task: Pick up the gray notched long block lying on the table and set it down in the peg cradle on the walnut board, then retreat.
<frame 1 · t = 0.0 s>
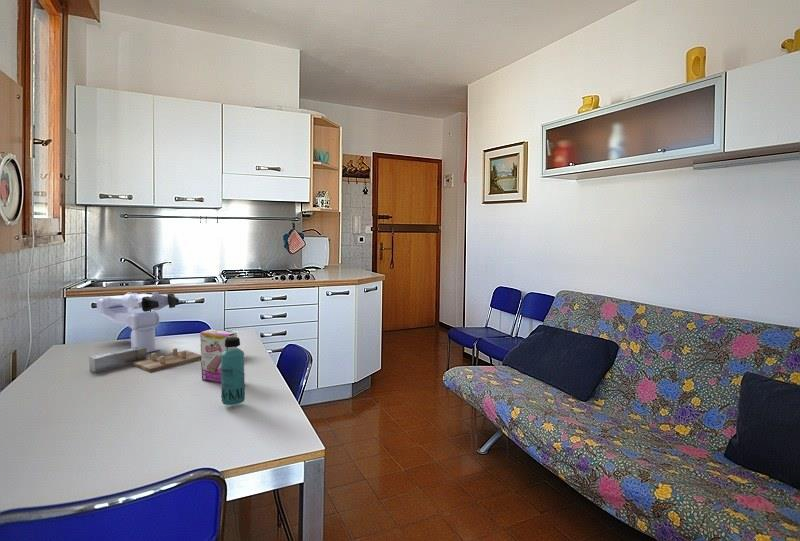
hand: (168, 302, 174), 22 cm above the table, tool horizontal, fingers open, 7 cm apart
gray notched long block: (119, 365, 168), on the table
mug: (222, 356, 182), on the table
candy bar box: (219, 381, 154), on the table
beverage bottle: (233, 406, 133), on the table
peg rack: (169, 362, 173), on the table
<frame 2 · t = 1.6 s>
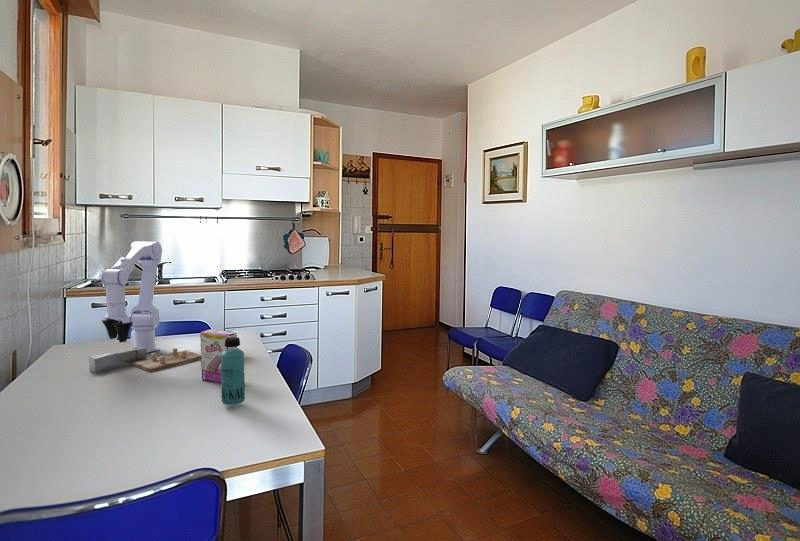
hand: (118, 340, 167), 9 cm above the table, tool pointing down, fingers open, 7 cm apart
nothing on the table moved.
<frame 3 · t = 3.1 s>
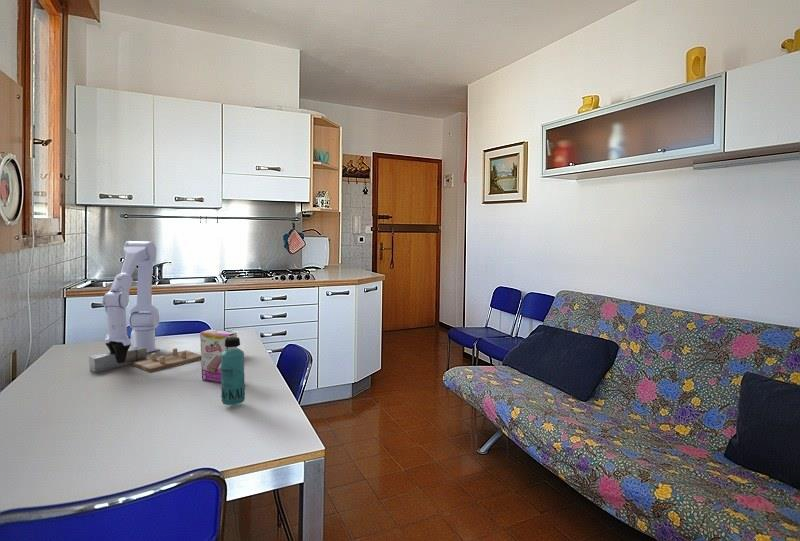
hand: (119, 361, 168), 1 cm above the table, tool pointing down, fingers closed on gray notched long block, 3 cm apart
gray notched long block: (119, 365, 168), on the table, touching gripper
everything else where it was.
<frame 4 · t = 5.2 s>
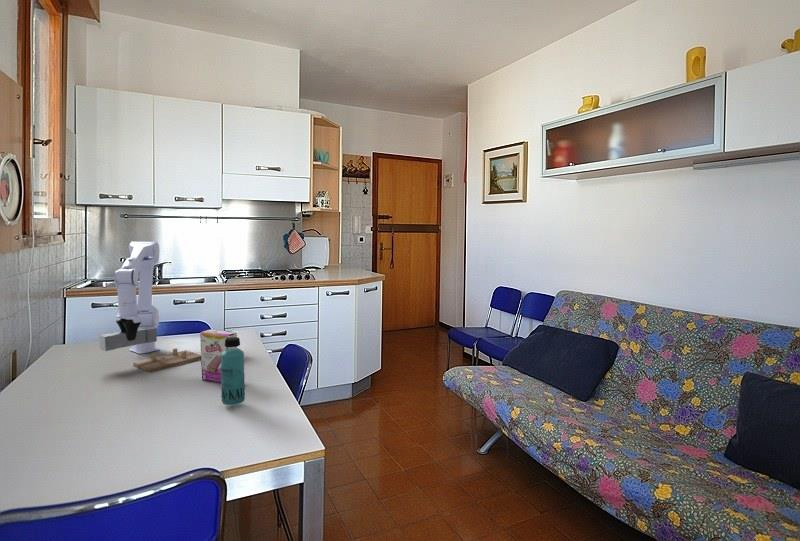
hand: (129, 339, 168), 9 cm above the table, tool pointing down, fingers closed on gray notched long block, 3 cm apart
gray notched long block: (129, 344, 168), point 7 cm above the table, touching gripper
everything else where it was.
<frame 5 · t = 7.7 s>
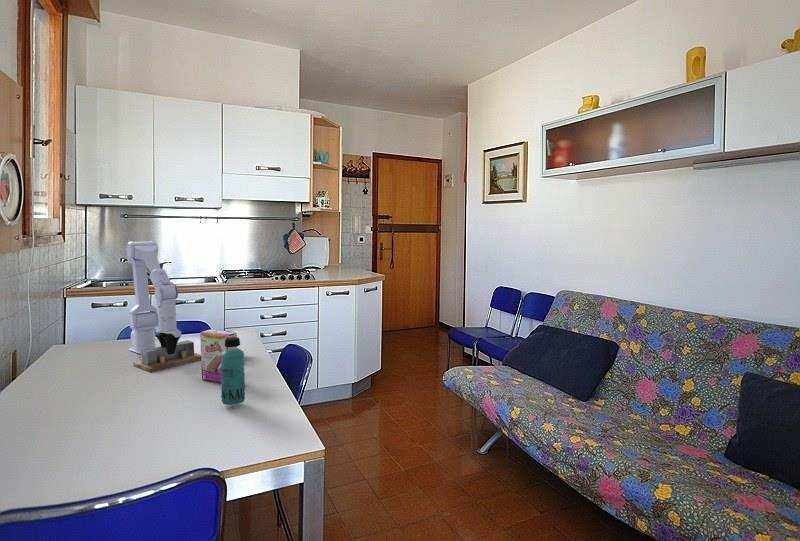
hand: (168, 353, 172), 3 cm above the table, tool pointing down, fingers closed on gray notched long block, 3 cm apart
gray notched long block: (168, 359, 172), point 1 cm above the table, touching gripper, peg rack
everything else where it was.
when the fingers open (3 cm above the table, at t = 7.8 s): gray notched long block stays where it is, resting on peg rack.
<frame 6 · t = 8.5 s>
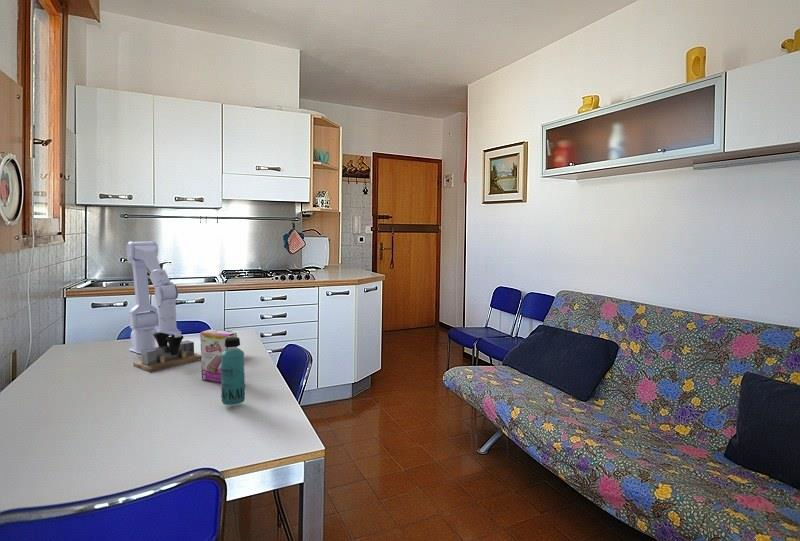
hand: (168, 353, 172), 3 cm above the table, tool pointing down, fingers open, 7 cm apart
gray notched long block: (168, 359, 172), point 1 cm above the table, touching peg rack
everything else where it was.
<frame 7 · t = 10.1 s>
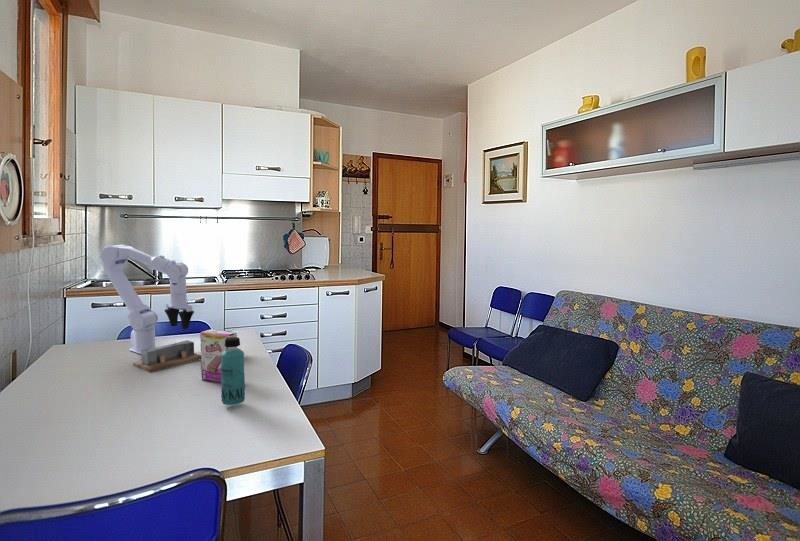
hand: (179, 327, 185), 10 cm above the table, tool pointing down, fingers open, 7 cm apart
nothing on the table moved.
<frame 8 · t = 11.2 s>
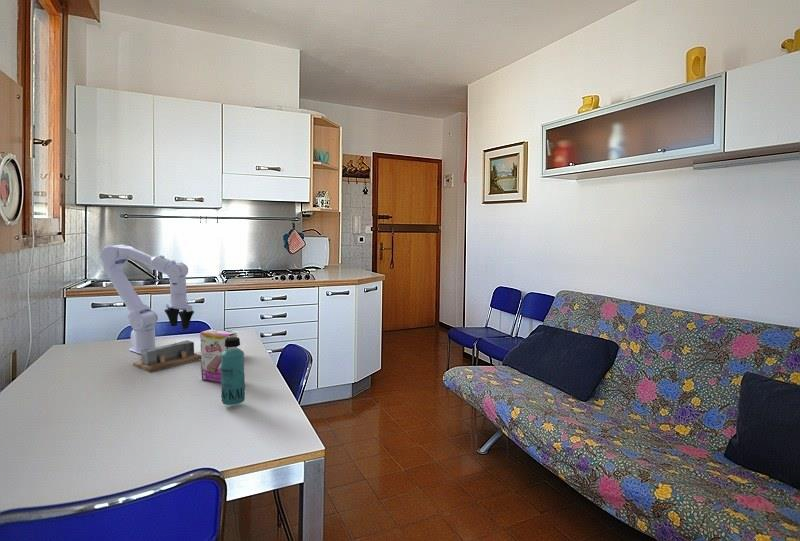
hand: (179, 327, 185), 10 cm above the table, tool pointing down, fingers open, 7 cm apart
nothing on the table moved.
at the end: gray notched long block 0.1 cm off-centre on the peg rack, point 1.2 cm above the peg rack's base; gray notched long block tilted 0°; the gripper is holding nothing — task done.
